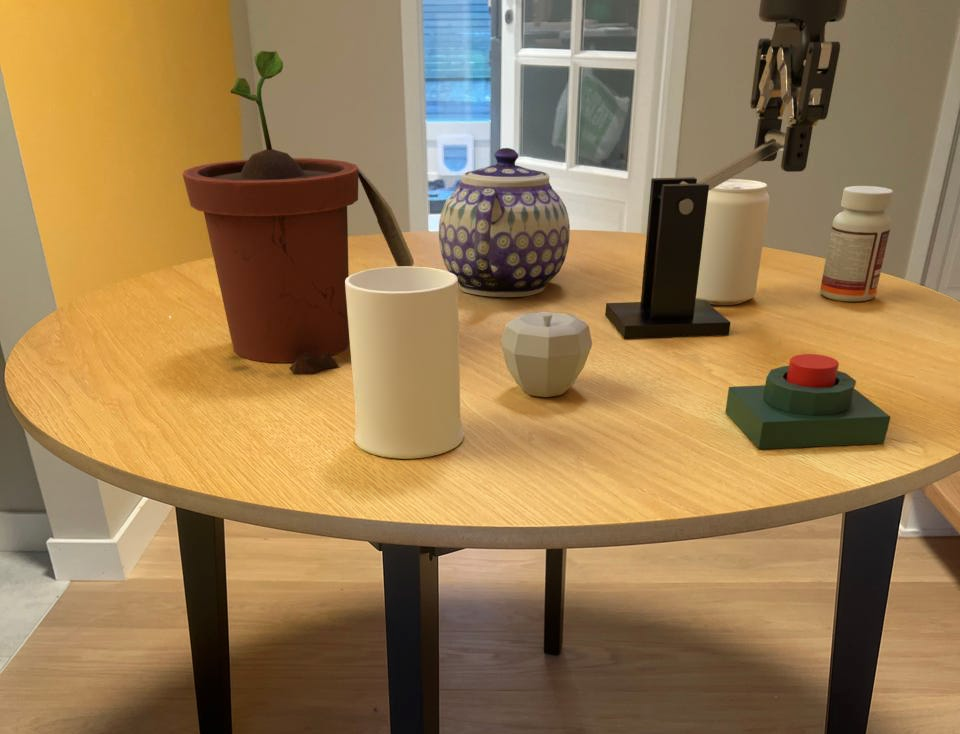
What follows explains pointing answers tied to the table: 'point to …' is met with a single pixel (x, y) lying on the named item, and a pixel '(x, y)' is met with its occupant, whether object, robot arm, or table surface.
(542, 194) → the teapot
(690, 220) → the bracket
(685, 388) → the table surface
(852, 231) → the pill bottle
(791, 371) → the button
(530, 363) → the apple
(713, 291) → the beverage can
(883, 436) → the button box
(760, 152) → the lever
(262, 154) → the potted plant
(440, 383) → the mug
